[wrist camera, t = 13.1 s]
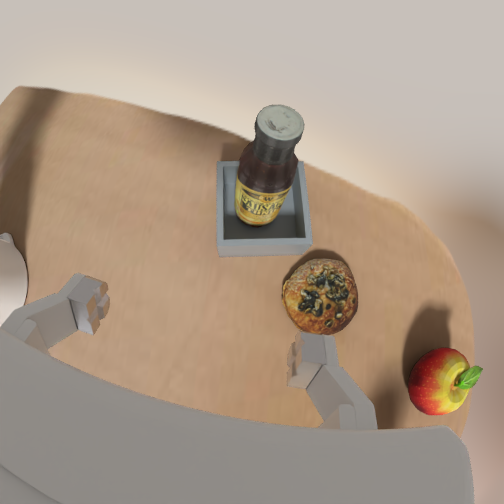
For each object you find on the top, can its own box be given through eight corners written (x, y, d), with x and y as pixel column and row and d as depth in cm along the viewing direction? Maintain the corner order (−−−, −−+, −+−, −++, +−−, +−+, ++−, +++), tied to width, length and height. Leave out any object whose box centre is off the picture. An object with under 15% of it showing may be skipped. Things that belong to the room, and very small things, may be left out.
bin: (219, 257, 40) (216, 246, 34) (218, 181, 43) (216, 161, 37) (301, 254, 41) (312, 244, 35) (295, 181, 44) (303, 161, 38)
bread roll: (345, 344, 38) (355, 344, 34) (271, 323, 40) (271, 321, 35) (363, 272, 41) (374, 263, 37) (294, 251, 43) (297, 239, 38)
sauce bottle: (234, 230, 40) (234, 152, 21) (233, 189, 42) (233, 94, 22) (281, 229, 41) (319, 153, 21) (278, 188, 42) (308, 96, 23)
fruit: (394, 359, 38) (432, 366, 28) (443, 337, 39) (483, 337, 29) (401, 418, 36) (436, 436, 26) (449, 392, 37) (486, 401, 27)
